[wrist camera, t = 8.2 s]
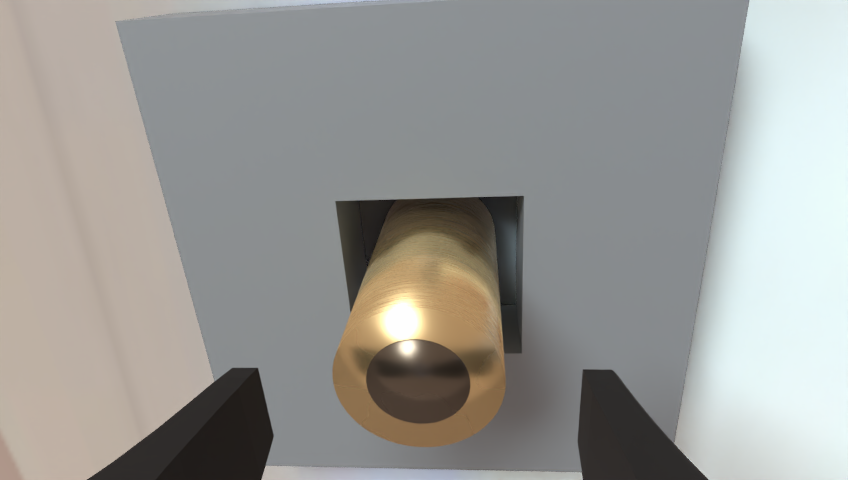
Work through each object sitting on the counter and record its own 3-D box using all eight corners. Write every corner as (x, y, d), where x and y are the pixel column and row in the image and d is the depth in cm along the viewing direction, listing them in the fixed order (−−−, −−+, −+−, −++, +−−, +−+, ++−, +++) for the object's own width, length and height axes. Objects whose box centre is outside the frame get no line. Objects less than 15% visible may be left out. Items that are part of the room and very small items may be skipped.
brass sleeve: (497, 184, 19) (511, 313, 12) (492, 286, 21) (501, 453, 14) (381, 181, 19) (325, 306, 12) (385, 282, 21) (338, 443, 14)
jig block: (705, -21, 16) (752, -19, 13) (646, 414, 23) (668, 473, 20) (170, 13, 18) (115, 21, 15) (264, 410, 24) (237, 464, 22)
